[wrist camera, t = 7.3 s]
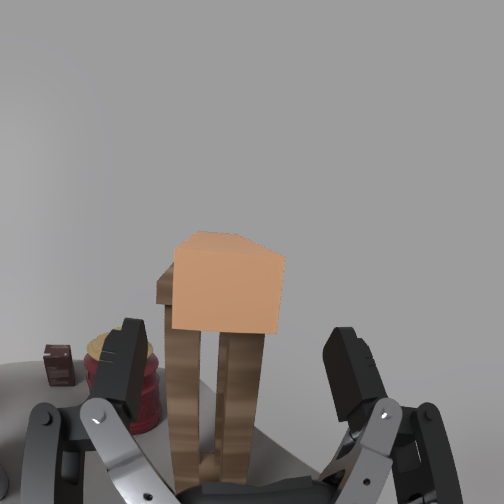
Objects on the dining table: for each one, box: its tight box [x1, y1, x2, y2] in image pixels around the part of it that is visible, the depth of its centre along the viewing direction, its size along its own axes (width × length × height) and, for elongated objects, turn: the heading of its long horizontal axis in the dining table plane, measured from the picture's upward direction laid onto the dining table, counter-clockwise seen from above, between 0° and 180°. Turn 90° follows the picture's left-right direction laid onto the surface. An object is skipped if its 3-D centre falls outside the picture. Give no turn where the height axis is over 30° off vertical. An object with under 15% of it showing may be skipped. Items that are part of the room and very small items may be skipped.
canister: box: [84, 327, 161, 435], centre depth 42 cm, size 13×13×18 cm
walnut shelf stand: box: [156, 263, 265, 494], centre depth 27 cm, size 14×8×31 cm, turn 8°
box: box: [43, 345, 75, 386], centre depth 47 cm, size 6×6×7 cm
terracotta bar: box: [172, 231, 285, 334], centre depth 20 cm, size 20×4×3 cm, turn 8°
